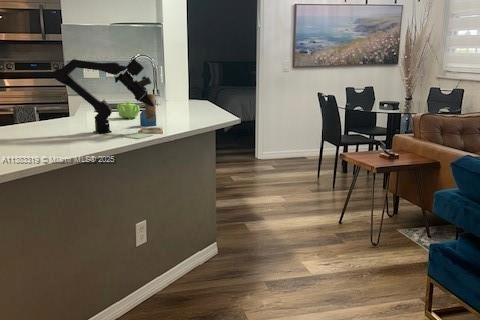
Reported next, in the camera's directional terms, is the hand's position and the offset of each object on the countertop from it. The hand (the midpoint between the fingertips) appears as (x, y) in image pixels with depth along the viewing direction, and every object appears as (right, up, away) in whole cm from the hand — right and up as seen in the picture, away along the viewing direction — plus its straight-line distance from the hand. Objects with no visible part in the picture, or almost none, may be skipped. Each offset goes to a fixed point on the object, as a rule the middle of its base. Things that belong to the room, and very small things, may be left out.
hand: (153, 105), depth 228 cm
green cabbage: (-24, -3, +45) cm, 51 cm away
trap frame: (-2, -13, +3) cm, 14 cm away
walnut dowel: (-1, -6, +1) cm, 7 cm away
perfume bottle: (-7, -9, +21) cm, 24 cm away
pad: (-6, -16, -10) cm, 20 cm away
